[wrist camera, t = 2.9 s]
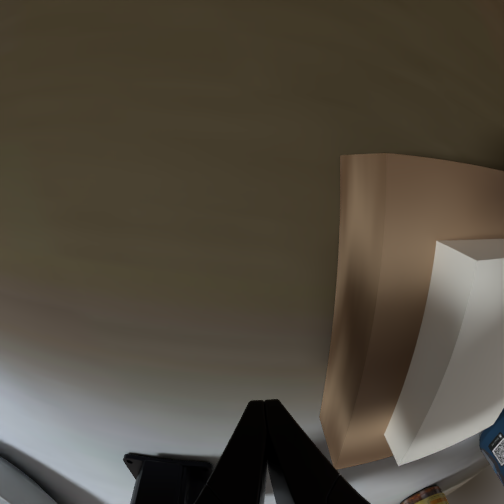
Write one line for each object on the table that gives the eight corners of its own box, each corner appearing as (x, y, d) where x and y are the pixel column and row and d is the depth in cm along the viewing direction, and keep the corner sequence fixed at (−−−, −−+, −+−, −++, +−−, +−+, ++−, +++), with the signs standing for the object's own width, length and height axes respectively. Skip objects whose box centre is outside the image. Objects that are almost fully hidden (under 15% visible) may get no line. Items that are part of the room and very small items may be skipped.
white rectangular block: (475, 401, 11) (493, 424, 9) (384, 434, 10) (398, 466, 8) (530, 237, 8) (562, 251, 6) (436, 240, 8) (476, 260, 6)
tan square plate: (471, 377, 15) (499, 410, 11) (319, 417, 15) (334, 469, 11) (517, 178, 11) (566, 188, 7) (340, 155, 11) (386, 153, 7)
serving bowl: (-14, 466, 21) (-28, 490, 15) (-56, 394, 16) (-80, 423, 9) (87, 524, 24) (79, 554, 17) (71, 483, 19) (54, 528, 12)
